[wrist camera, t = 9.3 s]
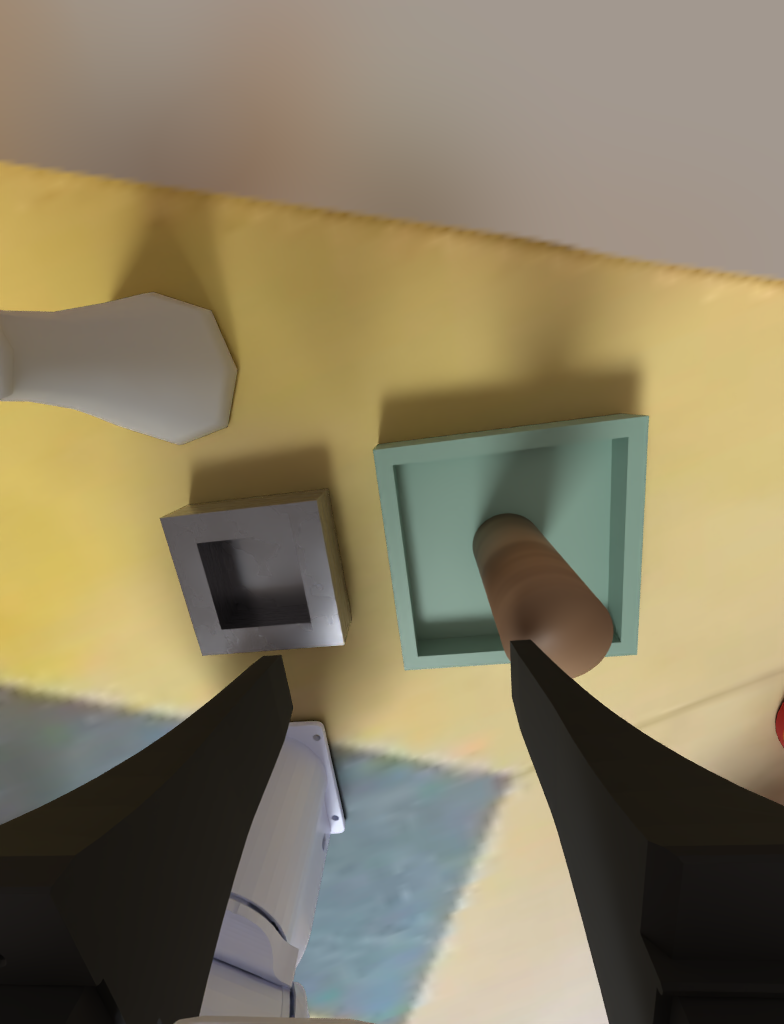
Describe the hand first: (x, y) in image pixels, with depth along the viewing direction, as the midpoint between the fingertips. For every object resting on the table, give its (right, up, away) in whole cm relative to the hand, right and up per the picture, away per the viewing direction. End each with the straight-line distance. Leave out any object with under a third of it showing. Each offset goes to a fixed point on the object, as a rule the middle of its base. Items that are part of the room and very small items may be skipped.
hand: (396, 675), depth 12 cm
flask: (-11, +12, +8) cm, 18 cm away
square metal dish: (-7, +2, +10) cm, 13 cm away
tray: (+6, +3, +9) cm, 11 cm away
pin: (+6, +3, +8) cm, 11 cm away
